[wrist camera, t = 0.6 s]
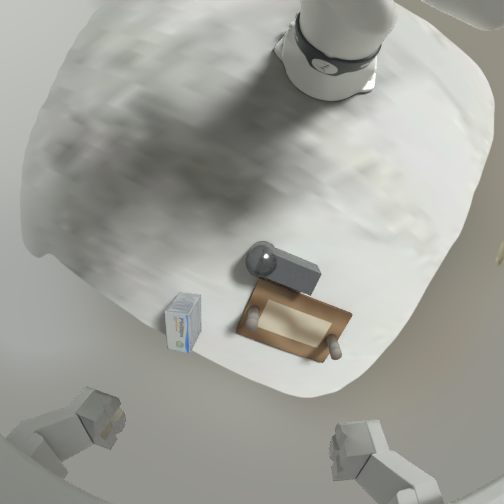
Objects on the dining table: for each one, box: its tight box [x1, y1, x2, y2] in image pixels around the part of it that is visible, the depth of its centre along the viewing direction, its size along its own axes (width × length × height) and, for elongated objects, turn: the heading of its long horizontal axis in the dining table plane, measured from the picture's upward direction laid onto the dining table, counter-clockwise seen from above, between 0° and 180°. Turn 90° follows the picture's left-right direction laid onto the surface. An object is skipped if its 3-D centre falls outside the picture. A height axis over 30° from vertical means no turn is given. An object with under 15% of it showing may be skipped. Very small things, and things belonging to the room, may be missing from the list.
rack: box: [236, 277, 352, 363], centre depth 47 cm, size 12×19×7 cm, turn 68°
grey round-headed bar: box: [246, 241, 321, 296], centre depth 45 cm, size 5×12×5 cm, turn 68°
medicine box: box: [164, 293, 201, 353], centre depth 48 cm, size 8×4×9 cm, turn 176°
